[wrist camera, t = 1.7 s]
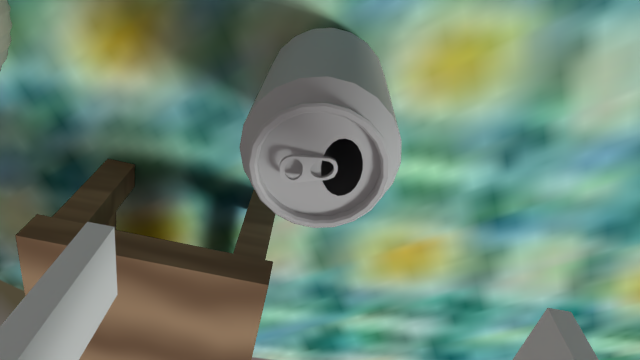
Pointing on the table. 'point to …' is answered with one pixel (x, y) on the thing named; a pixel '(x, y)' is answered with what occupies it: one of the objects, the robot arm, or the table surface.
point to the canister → (4, 30)
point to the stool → (160, 279)
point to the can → (322, 131)
